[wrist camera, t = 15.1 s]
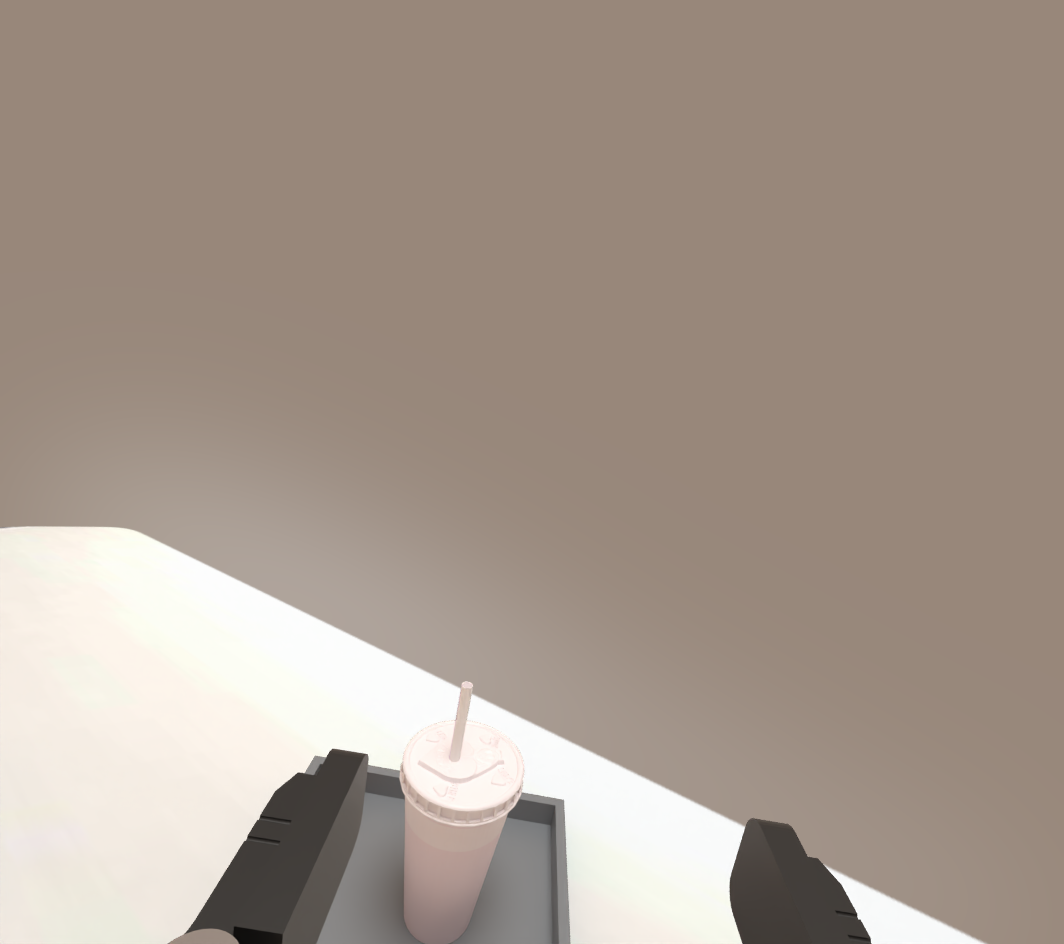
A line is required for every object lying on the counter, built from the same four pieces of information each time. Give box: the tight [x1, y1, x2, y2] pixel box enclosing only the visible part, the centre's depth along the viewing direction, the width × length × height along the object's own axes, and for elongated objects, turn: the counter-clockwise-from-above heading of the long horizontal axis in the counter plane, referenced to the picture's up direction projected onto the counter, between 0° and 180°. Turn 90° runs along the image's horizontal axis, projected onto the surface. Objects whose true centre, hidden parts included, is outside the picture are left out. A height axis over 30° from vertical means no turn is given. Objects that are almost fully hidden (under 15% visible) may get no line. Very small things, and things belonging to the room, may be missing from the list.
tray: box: [305, 756, 570, 944], centre depth 30 cm, size 17×14×2 cm
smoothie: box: [399, 682, 524, 944], centre depth 28 cm, size 6×6×14 cm
